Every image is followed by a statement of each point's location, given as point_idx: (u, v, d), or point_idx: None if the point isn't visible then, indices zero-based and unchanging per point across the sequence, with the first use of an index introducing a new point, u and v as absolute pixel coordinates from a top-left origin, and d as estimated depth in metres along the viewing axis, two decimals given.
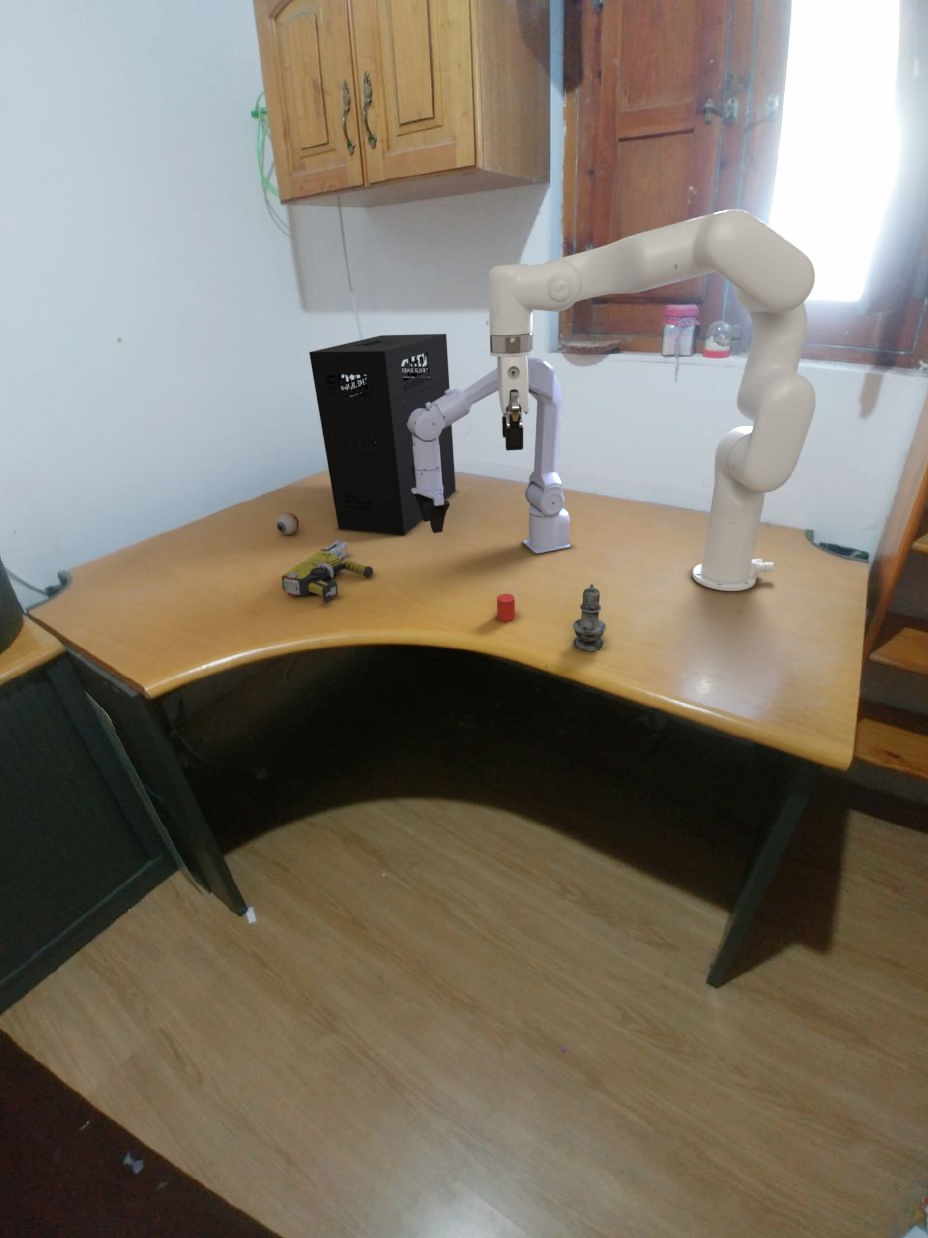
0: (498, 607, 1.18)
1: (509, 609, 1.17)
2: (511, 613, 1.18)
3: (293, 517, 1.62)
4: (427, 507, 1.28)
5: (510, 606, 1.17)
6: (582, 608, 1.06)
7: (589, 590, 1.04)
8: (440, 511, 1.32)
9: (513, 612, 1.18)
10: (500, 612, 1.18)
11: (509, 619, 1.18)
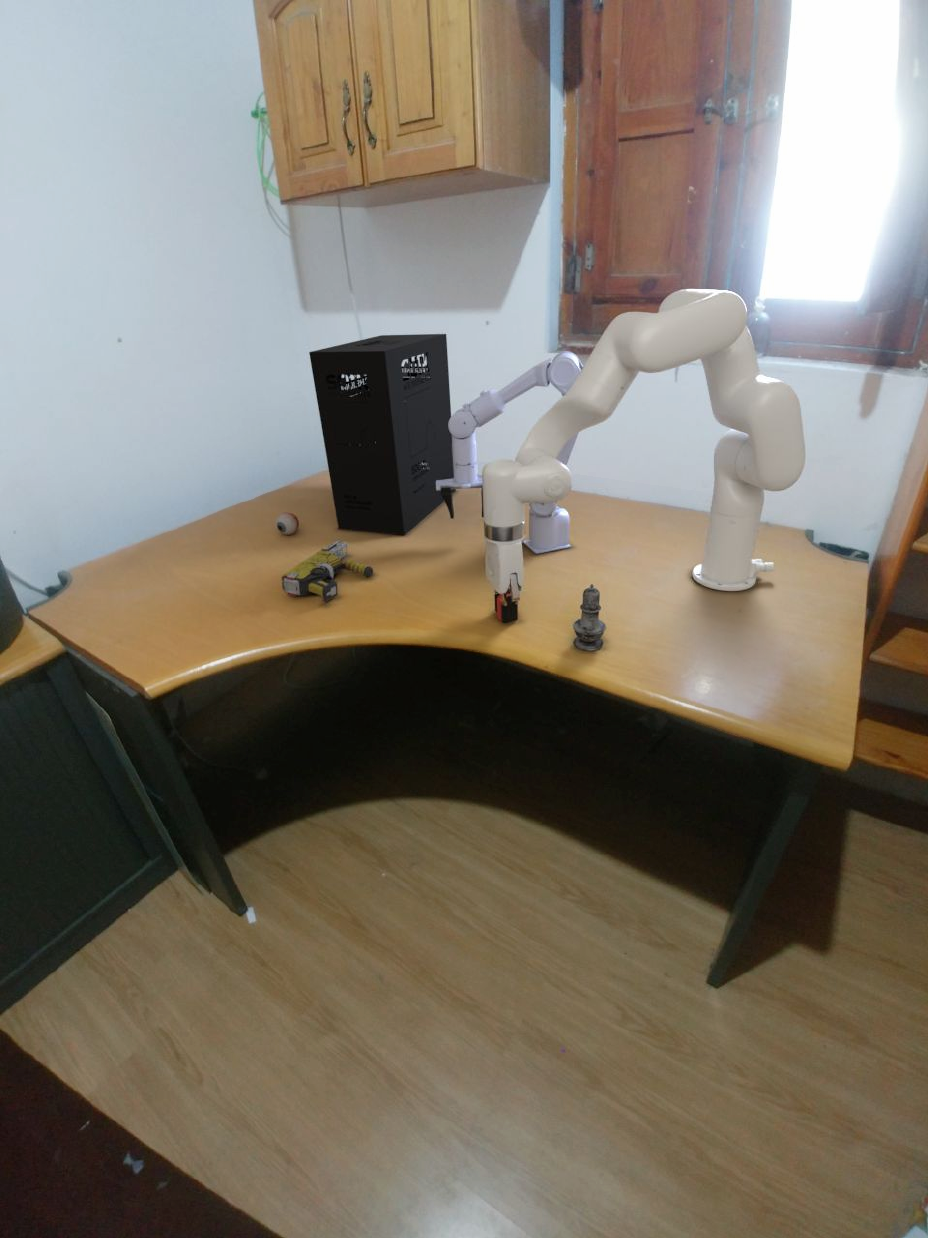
0: (498, 607, 1.18)
1: None
2: None
3: (293, 517, 1.62)
4: None
5: None
6: (582, 608, 1.06)
7: (589, 590, 1.04)
8: None
9: None
10: (500, 612, 1.18)
11: None
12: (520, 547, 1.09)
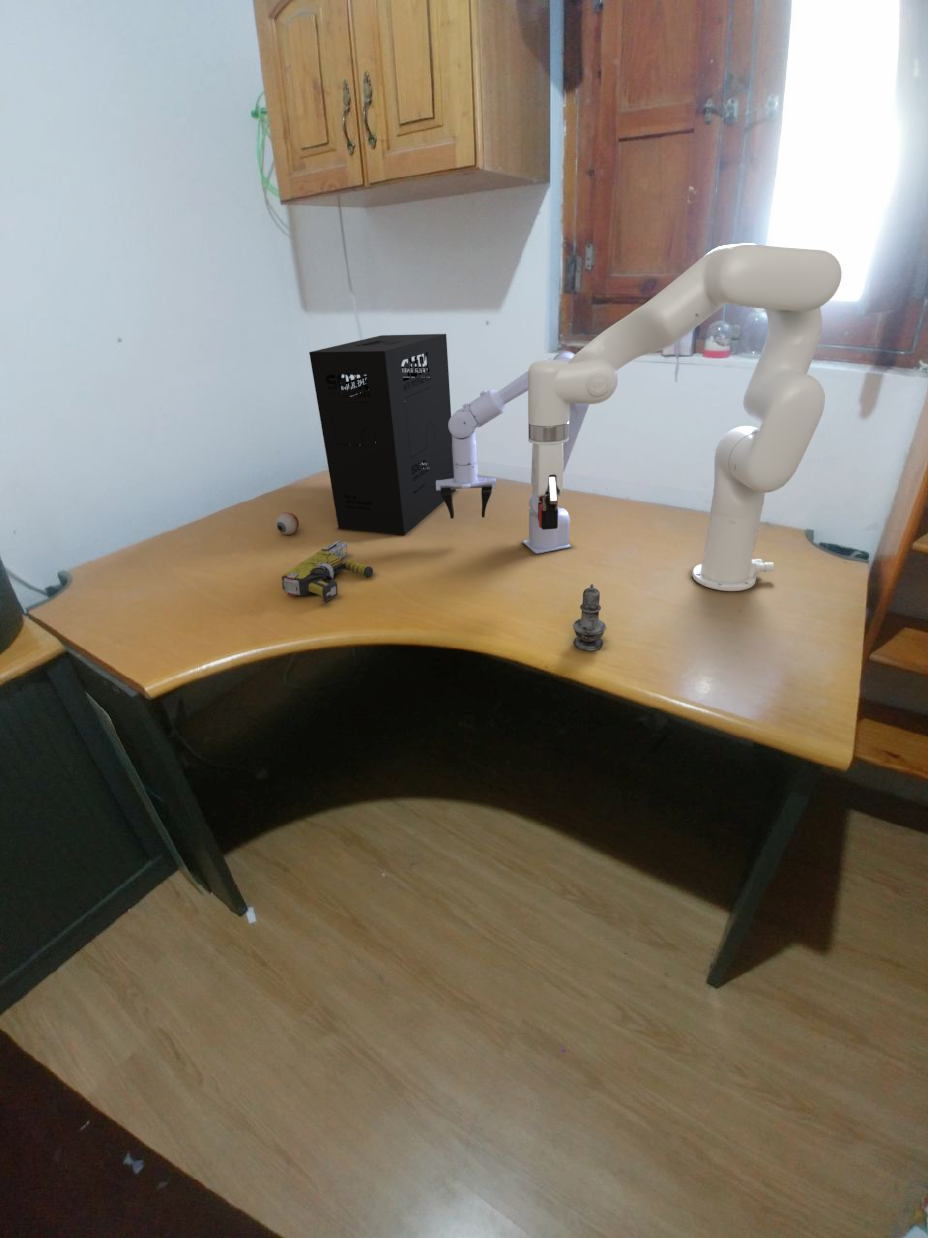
0: (539, 514, 1.20)
1: None
2: None
3: (293, 517, 1.62)
4: (490, 492, 1.44)
5: None
6: (582, 608, 1.06)
7: (589, 590, 1.04)
8: None
9: None
10: (540, 519, 1.20)
11: None
12: (561, 448, 1.10)
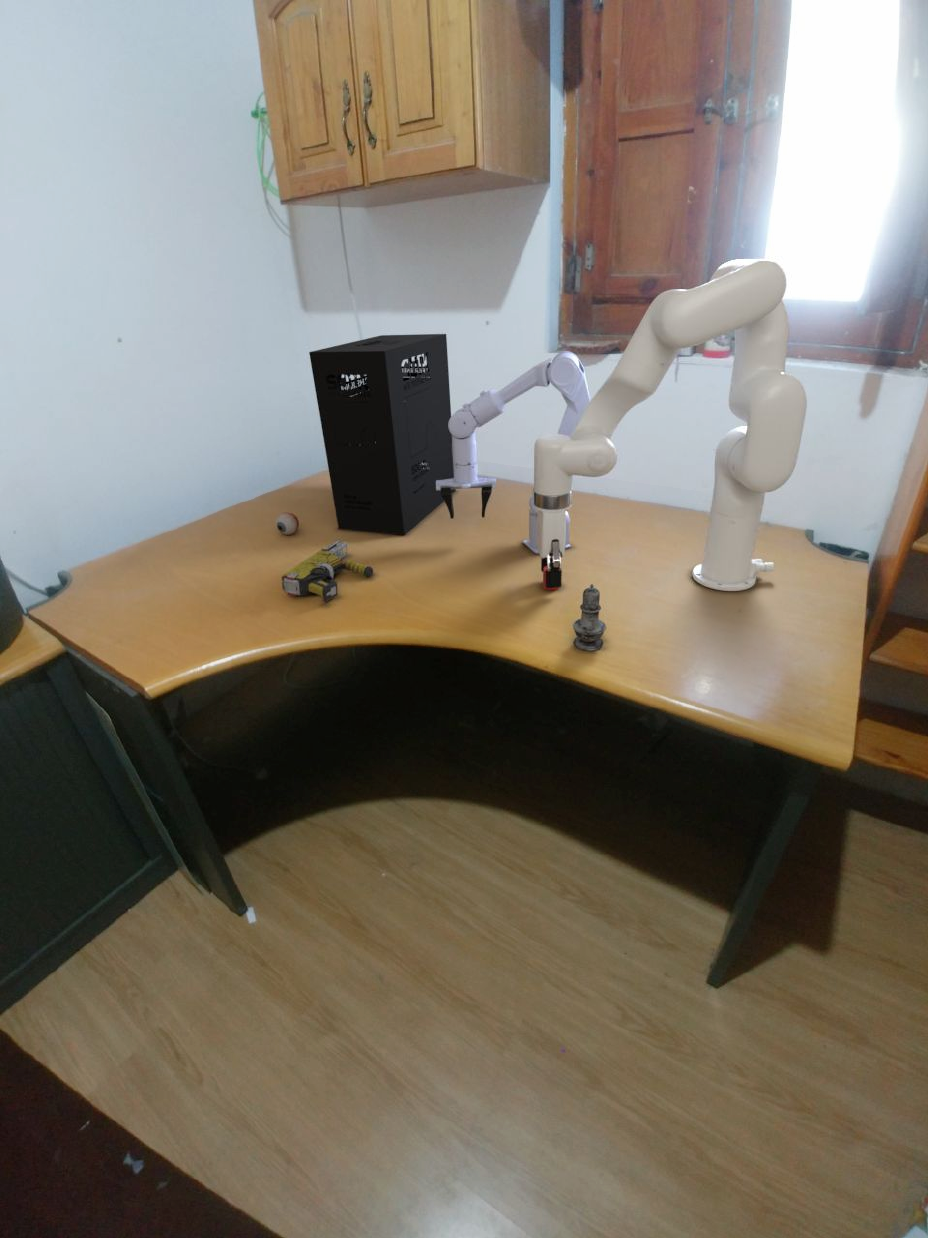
0: (543, 576, 1.29)
1: None
2: None
3: (293, 517, 1.62)
4: (490, 492, 1.44)
5: None
6: (582, 608, 1.06)
7: (589, 590, 1.04)
8: None
9: None
10: (544, 581, 1.29)
11: (552, 588, 1.29)
12: (563, 516, 1.18)
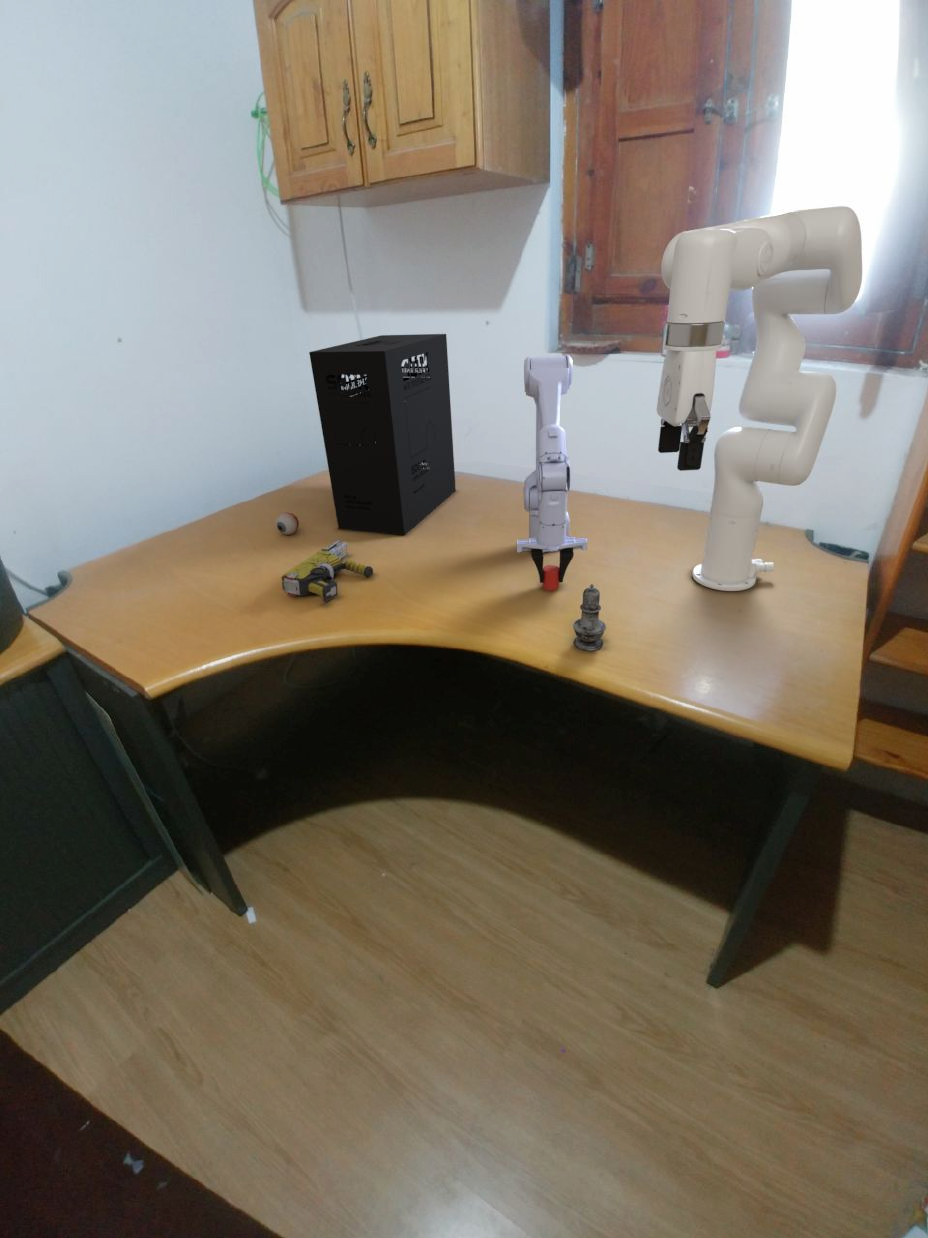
0: (543, 576, 1.29)
1: (553, 579, 1.28)
2: (554, 583, 1.28)
3: (293, 517, 1.62)
4: (572, 555, 1.24)
5: (553, 576, 1.27)
6: (582, 608, 1.06)
7: (589, 590, 1.04)
8: None
9: (557, 582, 1.28)
10: (544, 581, 1.29)
11: (552, 588, 1.29)
12: (714, 356, 0.80)
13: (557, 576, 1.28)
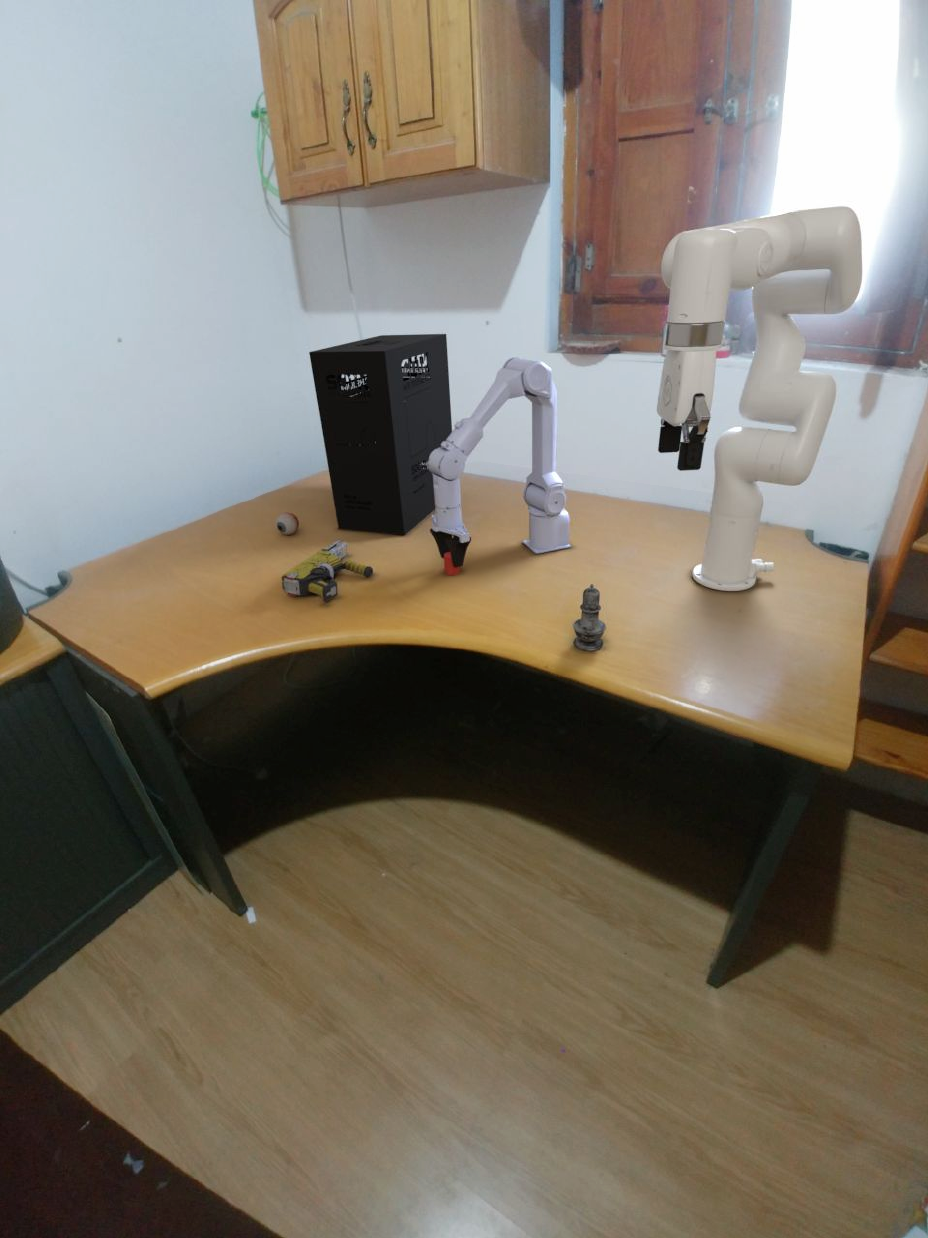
0: None
1: (445, 563, 1.37)
2: (446, 568, 1.37)
3: (293, 517, 1.62)
4: (451, 543, 1.30)
5: (445, 561, 1.37)
6: (582, 608, 1.06)
7: (589, 590, 1.04)
8: (461, 546, 1.33)
9: (449, 569, 1.37)
10: None
11: (446, 572, 1.38)
12: (714, 356, 0.80)
13: (449, 563, 1.36)
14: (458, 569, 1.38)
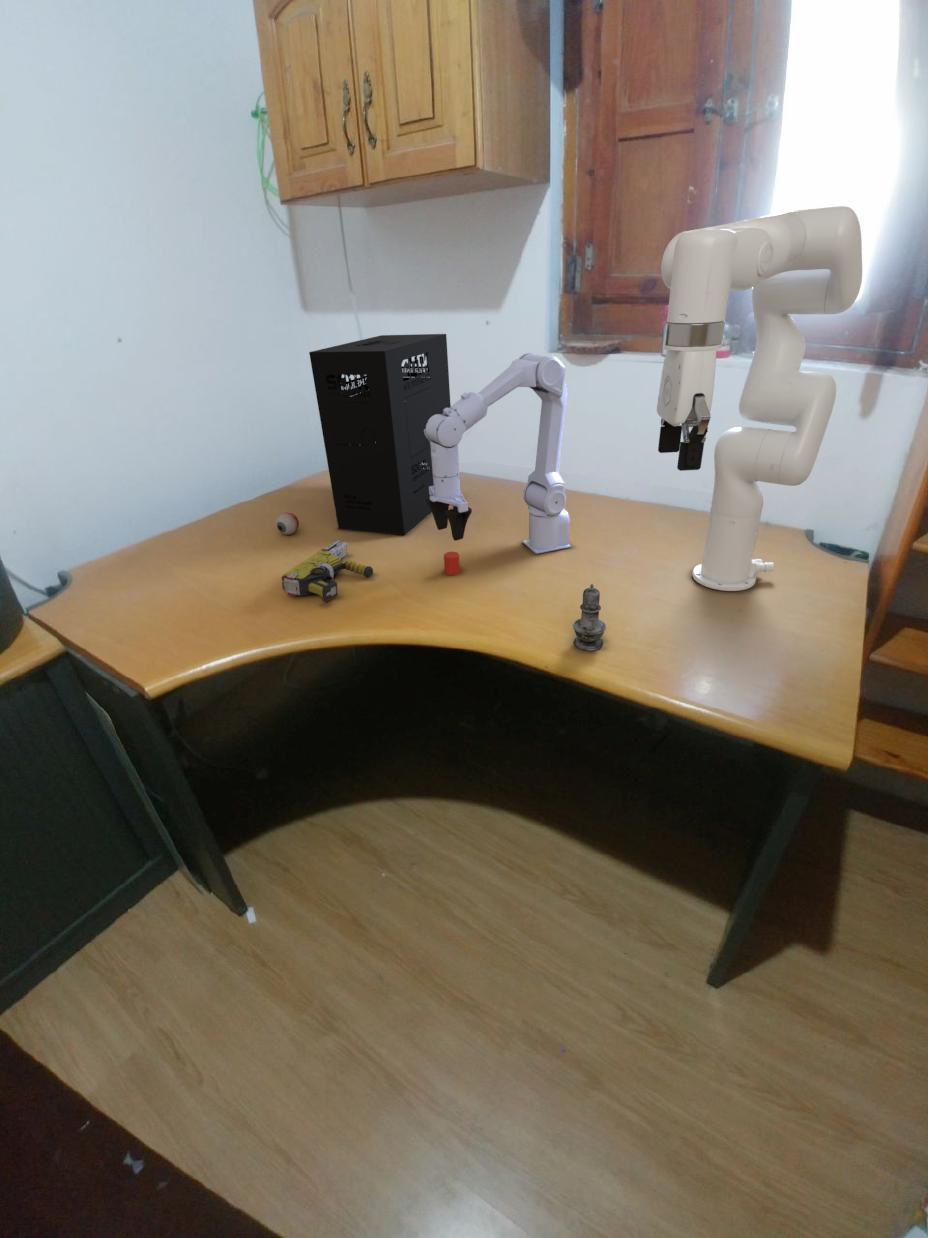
0: None
1: (445, 563, 1.37)
2: (446, 568, 1.37)
3: (293, 517, 1.62)
4: (451, 514, 1.26)
5: (445, 561, 1.37)
6: (582, 608, 1.06)
7: (589, 590, 1.04)
8: (461, 518, 1.29)
9: (449, 569, 1.37)
10: None
11: (446, 572, 1.38)
12: (714, 356, 0.80)
13: (449, 563, 1.36)
14: (458, 569, 1.38)
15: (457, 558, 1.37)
